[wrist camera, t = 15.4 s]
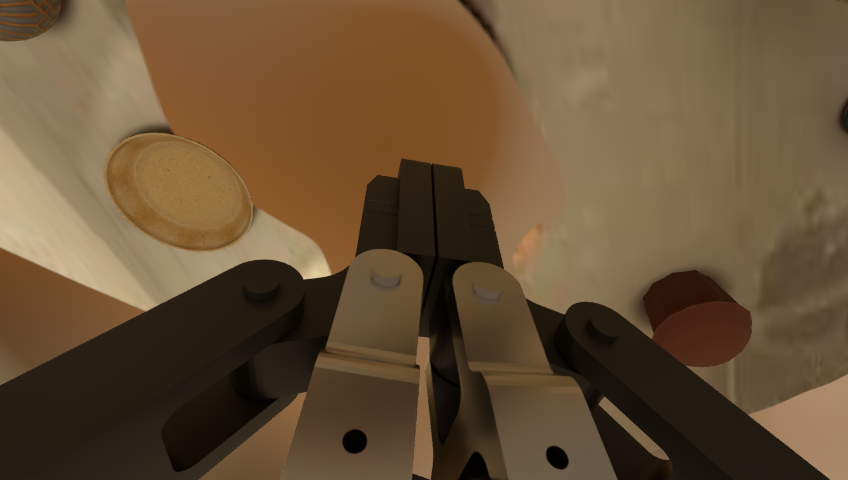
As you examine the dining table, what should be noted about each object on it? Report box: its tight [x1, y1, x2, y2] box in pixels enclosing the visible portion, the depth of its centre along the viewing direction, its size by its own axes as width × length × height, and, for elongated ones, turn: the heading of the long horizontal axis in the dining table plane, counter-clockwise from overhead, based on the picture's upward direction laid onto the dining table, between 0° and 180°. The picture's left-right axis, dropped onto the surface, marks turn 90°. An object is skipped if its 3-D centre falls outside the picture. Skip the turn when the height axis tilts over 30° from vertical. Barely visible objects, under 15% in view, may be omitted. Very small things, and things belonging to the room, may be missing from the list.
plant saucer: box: [104, 133, 253, 252], centre depth 48 cm, size 15×15×3 cm
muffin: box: [643, 270, 752, 367], centre depth 56 cm, size 12×11×10 cm
